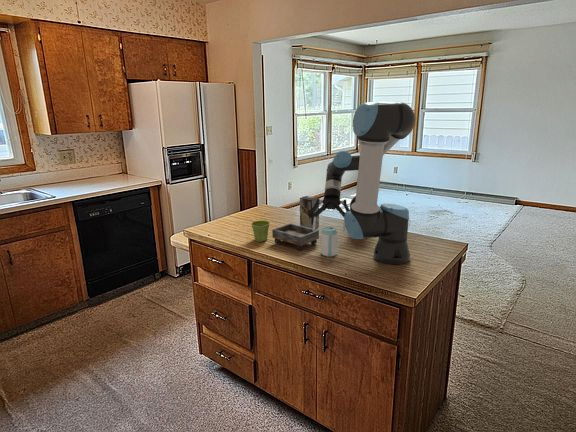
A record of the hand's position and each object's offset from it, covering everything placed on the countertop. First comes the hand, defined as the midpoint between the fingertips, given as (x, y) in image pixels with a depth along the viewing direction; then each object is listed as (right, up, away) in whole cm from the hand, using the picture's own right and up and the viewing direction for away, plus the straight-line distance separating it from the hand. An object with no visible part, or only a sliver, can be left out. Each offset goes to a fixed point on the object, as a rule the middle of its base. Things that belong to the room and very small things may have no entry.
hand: (328, 231), depth 168 cm
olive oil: (+18, -2, +24) cm, 30 cm away
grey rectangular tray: (-15, -6, +12) cm, 20 cm away
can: (0, -10, -1) cm, 10 cm away
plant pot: (-32, -5, +18) cm, 37 cm away
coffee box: (-6, +1, +38) cm, 38 cm away
